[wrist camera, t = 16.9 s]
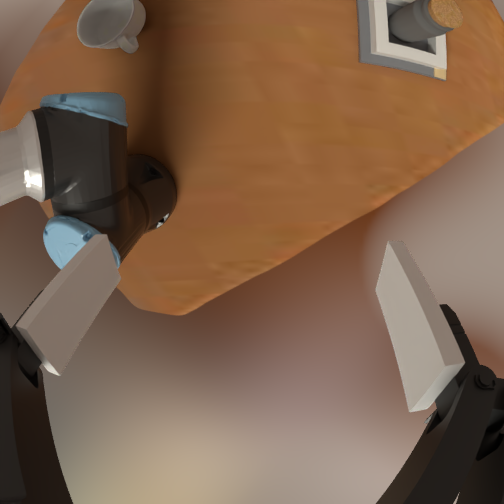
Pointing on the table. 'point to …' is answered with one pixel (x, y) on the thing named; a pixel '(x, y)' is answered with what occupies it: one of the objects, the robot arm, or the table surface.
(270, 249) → the table surface
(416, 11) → the bottle
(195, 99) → the table surface
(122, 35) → the teacup
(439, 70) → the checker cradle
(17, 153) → the robot arm
